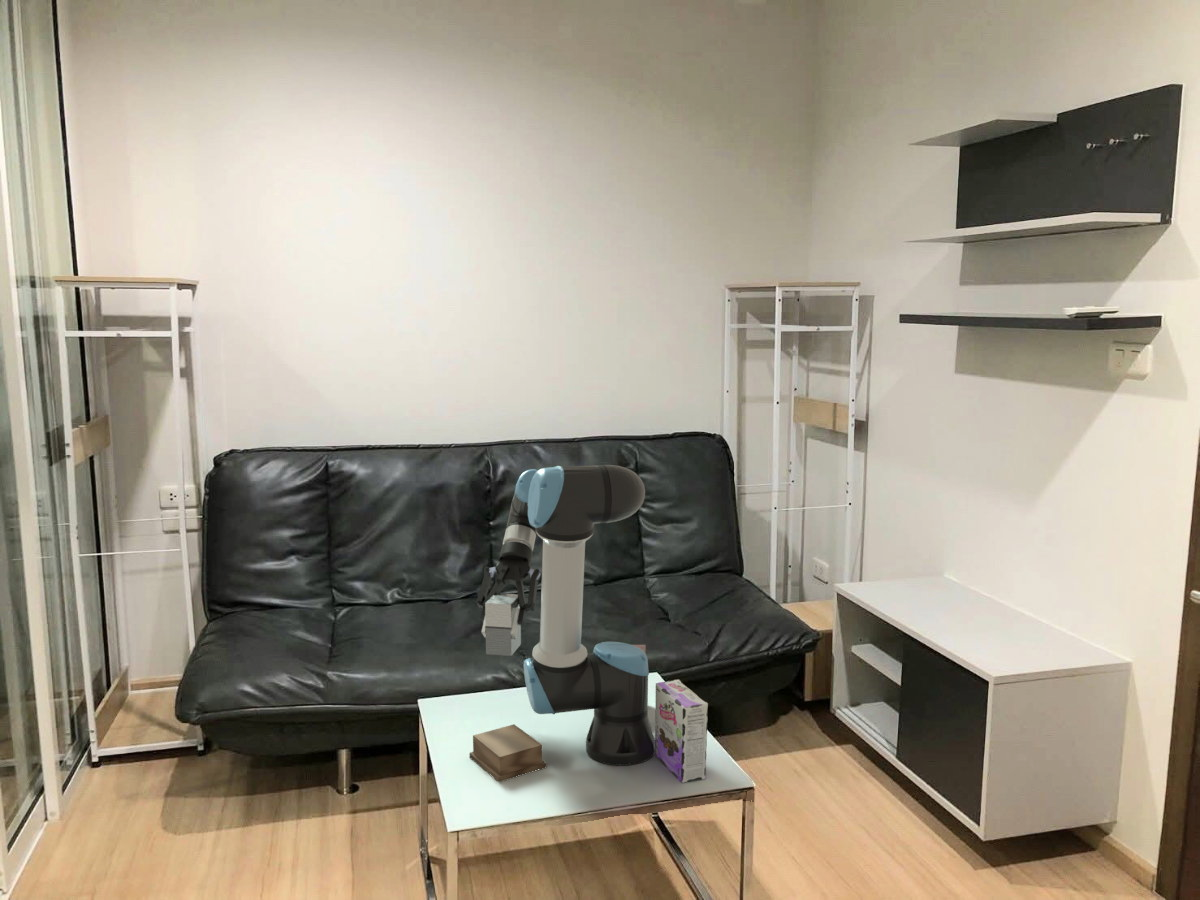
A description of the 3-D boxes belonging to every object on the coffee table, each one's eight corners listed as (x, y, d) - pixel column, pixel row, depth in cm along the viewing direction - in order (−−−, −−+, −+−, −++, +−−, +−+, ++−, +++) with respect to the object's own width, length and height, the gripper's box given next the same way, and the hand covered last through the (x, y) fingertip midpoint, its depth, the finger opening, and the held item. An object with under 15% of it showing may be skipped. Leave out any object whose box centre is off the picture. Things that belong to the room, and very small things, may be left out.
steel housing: (521, 644, 224) (520, 594, 222) (511, 655, 216) (510, 604, 214) (496, 642, 225) (495, 593, 223) (485, 654, 217) (484, 603, 215)
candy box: (653, 754, 206) (654, 681, 204) (678, 750, 208) (679, 678, 206) (681, 784, 194) (682, 706, 191) (707, 779, 196) (708, 702, 193)
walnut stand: (515, 744, 211) (515, 722, 210) (546, 767, 200) (546, 745, 199) (469, 757, 205) (469, 735, 204) (498, 782, 194) (498, 759, 193)
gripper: (558, 558, 231) (542, 645, 217) (483, 554, 235) (462, 640, 221) (553, 541, 225) (536, 630, 212) (475, 538, 229) (454, 625, 215)
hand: (498, 635), depth 216 cm, fingers closed on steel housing, 6 cm apart
